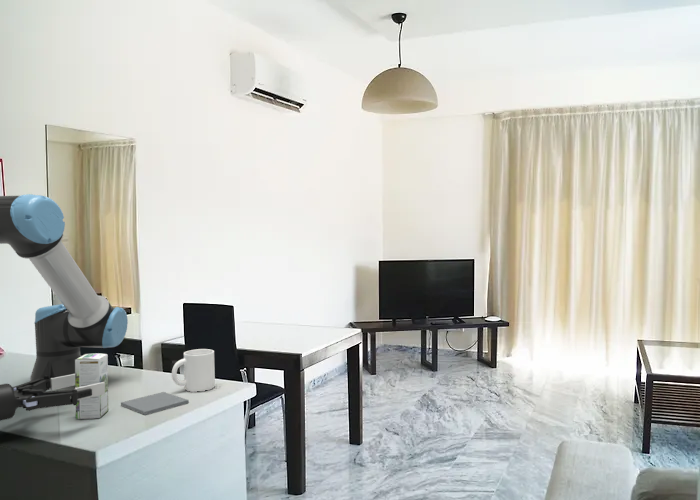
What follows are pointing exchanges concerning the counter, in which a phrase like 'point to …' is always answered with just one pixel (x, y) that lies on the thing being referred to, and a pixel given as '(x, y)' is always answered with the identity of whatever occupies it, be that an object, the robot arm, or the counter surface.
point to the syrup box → (89, 373)
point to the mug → (196, 370)
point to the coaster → (154, 403)
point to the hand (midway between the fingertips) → (91, 383)
